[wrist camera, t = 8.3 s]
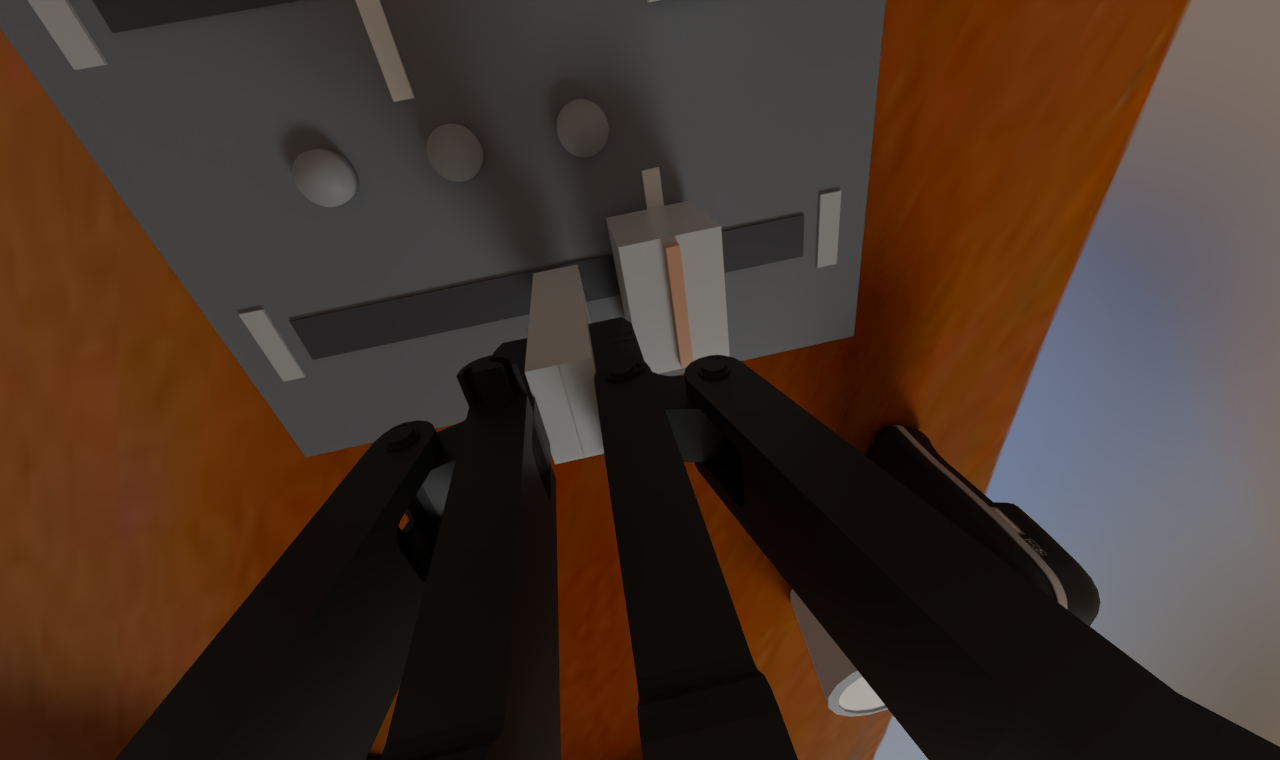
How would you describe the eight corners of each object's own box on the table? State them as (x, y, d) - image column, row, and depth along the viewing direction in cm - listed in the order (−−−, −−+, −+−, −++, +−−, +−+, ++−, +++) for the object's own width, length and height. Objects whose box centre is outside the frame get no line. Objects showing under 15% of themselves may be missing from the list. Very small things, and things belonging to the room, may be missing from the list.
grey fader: (627, 330, 19) (643, 382, 16) (606, 217, 17) (619, 250, 13) (701, 314, 19) (732, 362, 16) (690, 200, 17) (724, 228, 13)
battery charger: (885, 509, 31) (1035, 698, 22) (834, 508, 30) (966, 704, 21) (938, 422, 28) (1143, 600, 18) (882, 418, 27) (1066, 603, 17)
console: (324, 428, 22) (299, 466, 20) (-119, -247, 11) (-284, -330, 9) (831, 317, 23) (861, 341, 21) (877, -392, 12) (949, -496, 10)
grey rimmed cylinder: (788, 563, 33) (840, 669, 27) (882, 548, 33) (953, 648, 28) (775, 622, 36) (819, 727, 30) (860, 608, 37) (919, 707, 31)
